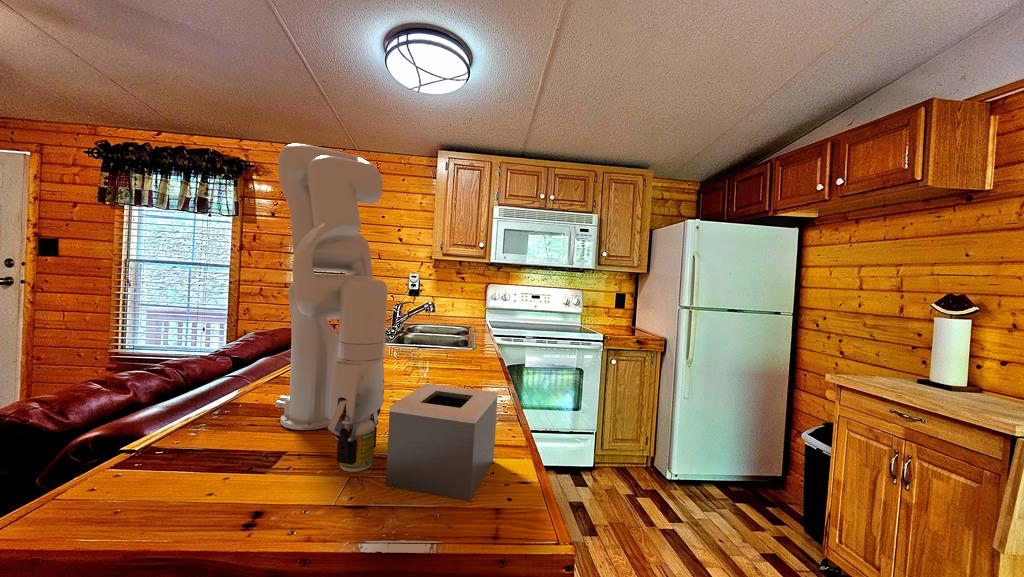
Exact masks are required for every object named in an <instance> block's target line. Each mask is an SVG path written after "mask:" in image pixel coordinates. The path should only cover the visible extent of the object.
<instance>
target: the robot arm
mask: <svg viewBox="0 0 1024 577" xmlns="http://www.w3.org/2000/svg"><path fill="white" fill-rule="evenodd" d="M277 160H278V161H277V172H278V173H277V175H278V181H279V184H280V188H281V191H282V194H283V196H284V198H285V201H286V203H287V206H288V210H289V214H290V227H291V230H290V231H291V240H292V241H291V242H292V253H293V254H292V255H293V259H292V281H290V282H291V283H290V284H289V286H288V291H287V295H288V296H287V298H288V306H289V313H290V314H289V315H290V321H291V322H290V324H291V327H290V328H291V344H290V345H291V346H290V372H289V373H290V374H289V375H290V376H289V377H290V378H289V395H284V394H283V395H280V396H279V397H278V400H276V402H275V404H274V405H275V408H282V409H284V413H283V414H282V415H281V416H280V420H279V423H280V425H281V426H282V427H284V428H285V429H290V430H295V431H313V430H319V429H320V430H321V429H324V428H325V429H326V428H327V429H328V431H330V432H331V433H333V435H334V437H335V440H337V449H336V452H337V453H336V461H337V463H339V464H340V463H345V464H350V465H353V464H355V463H356V451H357V440H354V438H355V434H356V429H357V425H358V422H359V421H361V420H363V419H364V418H366V417H368V416H369V415H371V418H370V420H372V421H373V422H374V424H375V433H374V449H376V447H377V434H378V433H377V432H378V431H377V430H378V425H379V415H380V413H381V410H382V407H383V405H384V403H385V398H384V397H385V396H384V395H385V365H384V361H385V350H386V330H387V310H388V309H387V308H388V307H387V305H388V286H387V285H388V284H387V283H386V282H385V281H384V280H381V279H376V278H374V273H373V264H372V255H371V254H372V253H371V249H370V246H369V242H368V240H367V239H366V238H365V236H364V235H362V234H361V233H359V232H360V230H361V228H362V220H361V216H360V210H359V204H360V203H361V204H368V205H375V204H376V203H377V202H379V201H380V199H381V197H382V196H383V190H384V183H383V182H384V181H383V178H382V175H381V172H380V171H379V169H378V167H376V165H375V164H373V163H372V162H370V161H368V160H366V159H364V158H363V157H361V156H358V155H355V154H350V153H346V152H342V151H337V150H333V149H329V148H325V147H320V146H316V145H312V144H304V143H291V144H286V145H285V146H283V147H282V148H281V150H280V151H279V155H278V159H277ZM358 203H359V204H358ZM314 271H315V272H335V273H337V272H338V273H344V274H335V273H315V272H314ZM333 319H335V320H336V319H339V321H338V332H337V331H336V330H335V328H334V327H333V326H332V325H331V323H330V322H329V320H333ZM346 417H350V420H347V419H346ZM345 424H346V425H351V426H350V431H348V430H347V429H346V428H345Z"/></svg>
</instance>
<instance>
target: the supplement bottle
mask: <svg viewBox="0 0 1024 577" xmlns="http://www.w3.org/2000/svg"><path fill="white" fill-rule="evenodd" d="M370 418H371V415H369V416H368V417H366V418H364V419H363V420H361V421H359V422H358V425H357V429H356V434H355V438H354V440H357V451H356V463H355V464H353V465H350V464H345V463H339V466H340V469H342V470H343V471H345V472H349V473H350V472H351V473H354V472H355V473H357V472H363V471H366V470H368V469H370V468H371V467H372V466H373V463H374V451H375V448H374V433H375V424H374V422H373V421H372V420H370ZM345 420H350V417H346V419H345ZM350 426H351V425H346V424H345V428H346V429H347V430H348V431H350Z"/></svg>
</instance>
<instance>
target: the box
mask: <svg viewBox="0 0 1024 577" xmlns="http://www.w3.org/2000/svg"><path fill="white" fill-rule="evenodd" d="M498 395H499V392H497V391H496V392H495V391H489V390H488V391H487V390H481V389H471V388H464V387H458V386H457V387H456V386H450V385H442V384H441V385H440V384H434V383H433V384H432V383H424V384H423V385H421V386H420V387H418V388H417V389H415V390H413V391H412V392H410V393H408V394H407V395H406V396H404V397H402V398H401V399H399V400H398V401H396V402H394V403H393V404H391V405H389V412H388V413H389V415H388V431H387V432H388V435H387V454H386V455H387V456H386V474H385V477H386V478H385V479H386V480H385V486H386V487H389V488H390V487H391V488H396V489H401V490H407V491H413V492H418V493H424V494H429V495H434V496H438V497H439V496H440V497H445V498H449V499H456V500H461V501H466V502H471V501H472V499H473V497H474V496H475V494H476V492H477V491H478V488H479V487H480V485H481V484H482V482H483V480H484V478H485V476H487V473H488V472H489V469H490V468H491V467H492V464H493V463H494V461H495V460H494V458H495V443H496V442H495V441H496V426H497V425H496V424H497V412H498V411H497V410H498V397H499V396H498Z"/></svg>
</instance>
